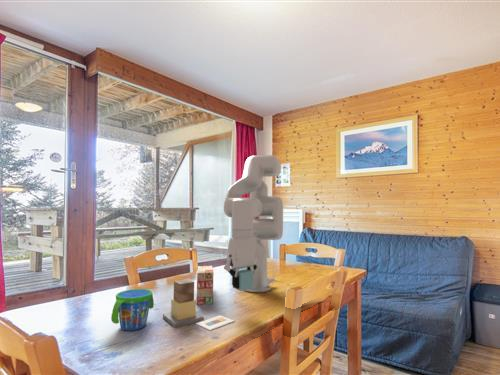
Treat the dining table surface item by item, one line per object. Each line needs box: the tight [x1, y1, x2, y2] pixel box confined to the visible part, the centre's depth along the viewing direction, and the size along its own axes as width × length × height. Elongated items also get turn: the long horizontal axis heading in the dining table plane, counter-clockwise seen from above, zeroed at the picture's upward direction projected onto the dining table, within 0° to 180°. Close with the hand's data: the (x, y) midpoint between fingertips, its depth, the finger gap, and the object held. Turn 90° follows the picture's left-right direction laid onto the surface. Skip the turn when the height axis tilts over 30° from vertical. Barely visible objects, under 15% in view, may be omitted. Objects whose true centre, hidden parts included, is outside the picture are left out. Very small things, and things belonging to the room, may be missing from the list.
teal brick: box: [232, 268, 253, 292], centre depth 106 cm, size 5×5×6 cm
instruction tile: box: [195, 314, 235, 331], centre depth 97 cm, size 10×7×1 cm
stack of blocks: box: [196, 265, 214, 306], centre depth 126 cm, size 21×6×12 cm, turn 9°
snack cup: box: [110, 288, 155, 331], centre depth 94 cm, size 16×10×10 cm
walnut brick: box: [173, 278, 195, 303], centre depth 100 cm, size 5×5×6 cm
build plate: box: [162, 298, 205, 328], centre depth 100 cm, size 10×10×6 cm
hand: (242, 285), depth 106 cm, fingers closed on teal brick, 5 cm apart
